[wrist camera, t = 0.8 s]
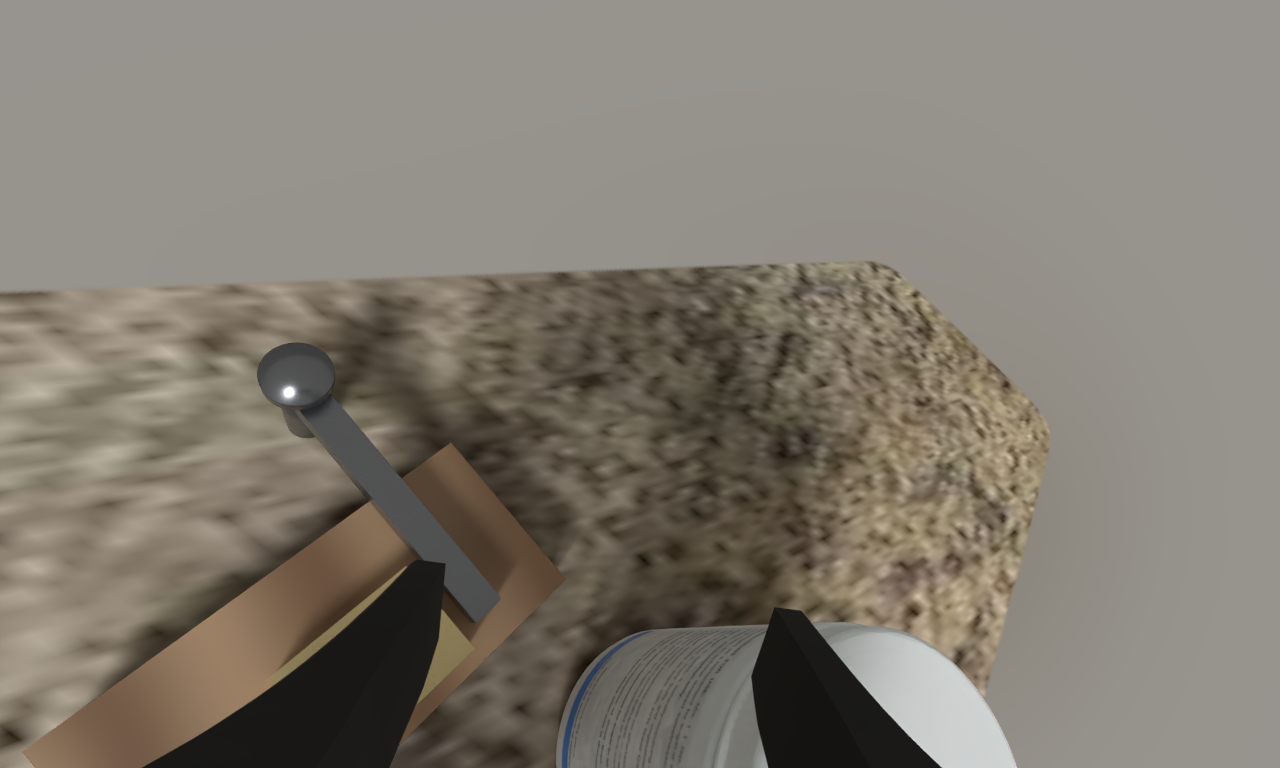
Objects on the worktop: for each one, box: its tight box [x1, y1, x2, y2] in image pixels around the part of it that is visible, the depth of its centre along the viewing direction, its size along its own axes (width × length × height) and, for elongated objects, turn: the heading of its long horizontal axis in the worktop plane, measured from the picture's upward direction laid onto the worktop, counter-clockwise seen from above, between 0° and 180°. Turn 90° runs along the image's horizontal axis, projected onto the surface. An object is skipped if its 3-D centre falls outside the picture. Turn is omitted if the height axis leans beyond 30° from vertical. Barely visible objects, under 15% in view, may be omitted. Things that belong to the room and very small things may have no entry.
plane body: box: [23, 443, 565, 768], centre depth 22 cm, size 15×8×3 cm, turn 134°
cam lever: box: [257, 343, 502, 623], centre depth 24 cm, size 2×12×6 cm, turn 44°
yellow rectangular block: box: [267, 566, 475, 705], centre depth 20 cm, size 5×4×2 cm
